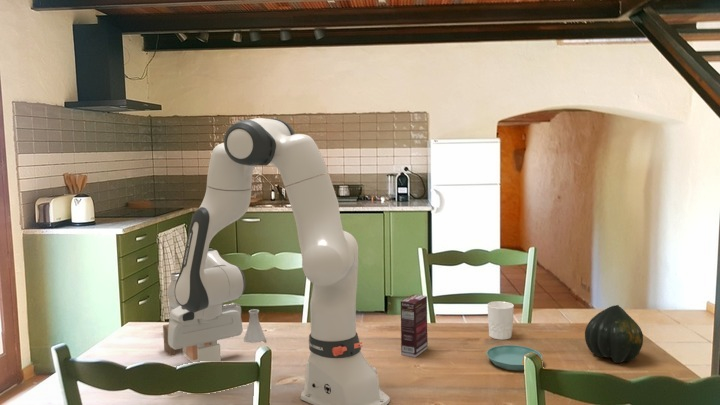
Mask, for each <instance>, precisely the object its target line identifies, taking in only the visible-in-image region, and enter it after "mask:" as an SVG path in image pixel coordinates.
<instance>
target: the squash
mask: <svg viewBox="0 0 720 405" xmlns="http://www.w3.org/2000/svg"><path fill="white" fill-rule="evenodd" d="M584 340H585V344H586V346H587V348H588V350H589V351H590V352H591V353H592V354H593V355H595V356H597V357H605V358H610V359H611V360H612V362H614V363H619V364H620V363H622V362H629V361H633V360H634V359H636V357H637V356H638V354H639V353H640V352H641V350H642V348H643V344H644V334H643V330H642V328H641V327H640V326H639V324H638V323H637V322H636V321H635V319H633V318H632V317H631V316H630V315H629V314H628V313H627V312H626V311H625V309H624V308H622V307H621V306H620V305H619V304H617V305H611V306H609V307H607V308H605V309H603V310H602V311H599V312H598V313H597V314H595V315H594V316H592V318H591V319H590V320H589V322H588V323H587V325H586V327H585V330H584Z"/></svg>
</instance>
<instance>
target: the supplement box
mask: <svg viewBox="0 0 720 405" xmlns="http://www.w3.org/2000/svg"><path fill="white" fill-rule="evenodd" d="M400 343H401V344H400V346H401V348H400V350H401V355H402V356H406V357H409V358H410V357H411V358H416V357H418V356H419V355H420V354H422V353H423V352H425V351H426V350H427V349H428V346H429V345H428V296H427V295H421V294H412V295H410V296H408V297H406V298H404V299H402V300H400Z"/></svg>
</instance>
